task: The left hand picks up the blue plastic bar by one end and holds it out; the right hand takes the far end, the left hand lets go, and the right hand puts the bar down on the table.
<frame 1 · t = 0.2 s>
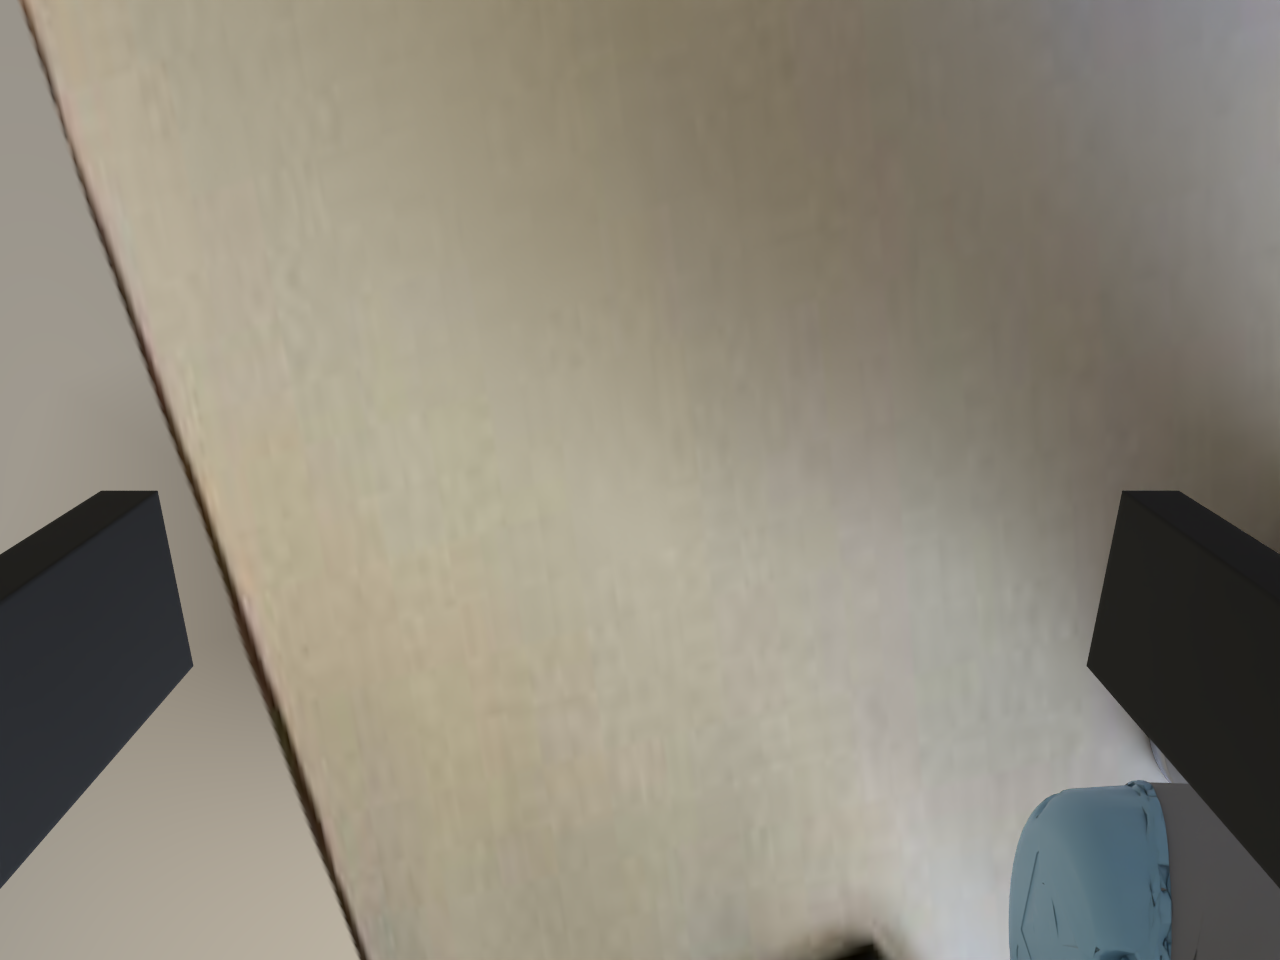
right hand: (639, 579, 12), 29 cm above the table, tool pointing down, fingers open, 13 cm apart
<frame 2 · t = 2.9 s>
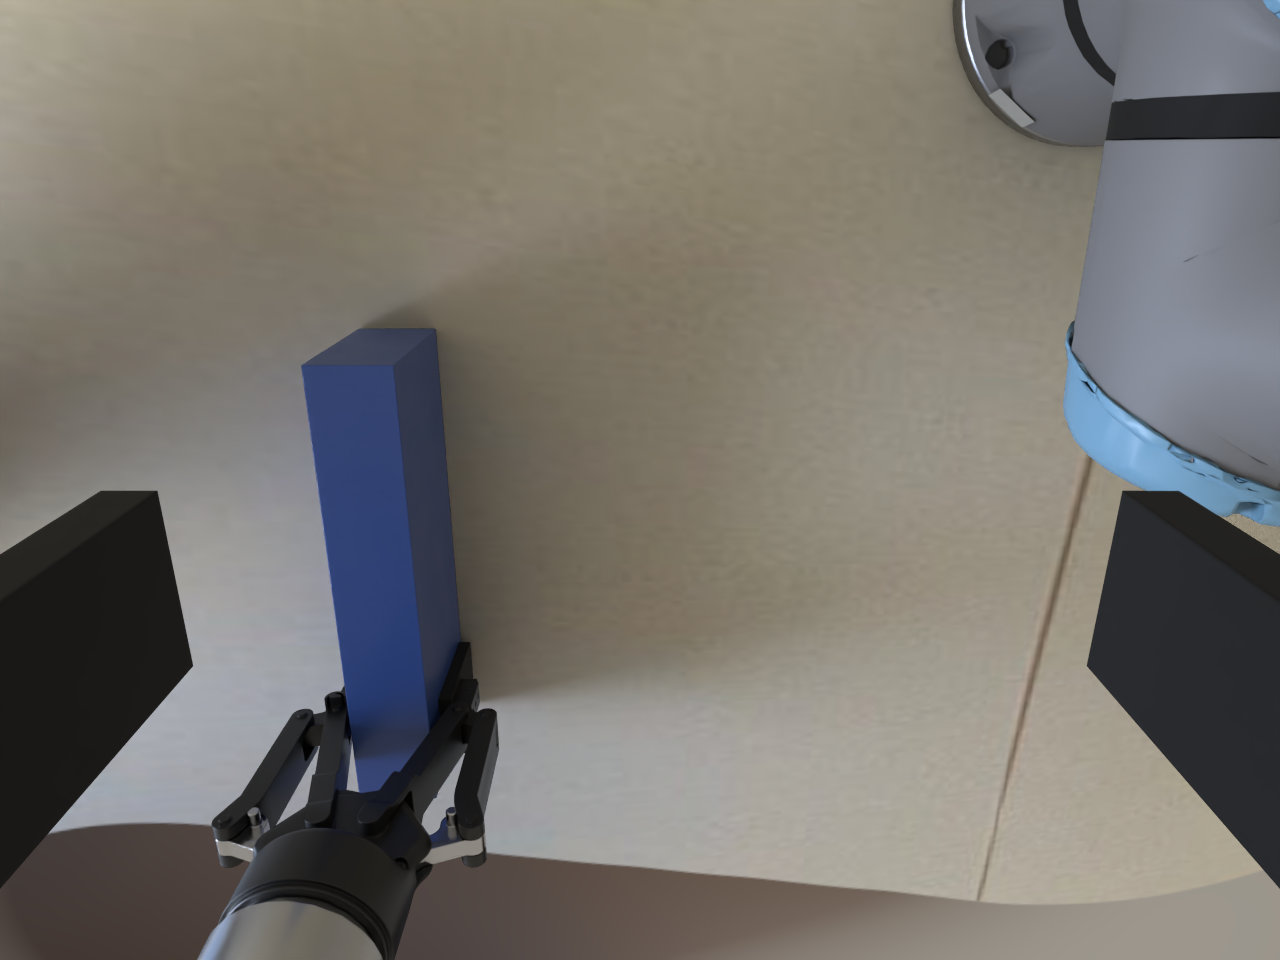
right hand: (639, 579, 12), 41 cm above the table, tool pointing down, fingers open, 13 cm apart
left hand: (426, 660, 59), fingers closed on bar, 4 cm apart
bar: (416, 531, 56), on the table, touching left hand
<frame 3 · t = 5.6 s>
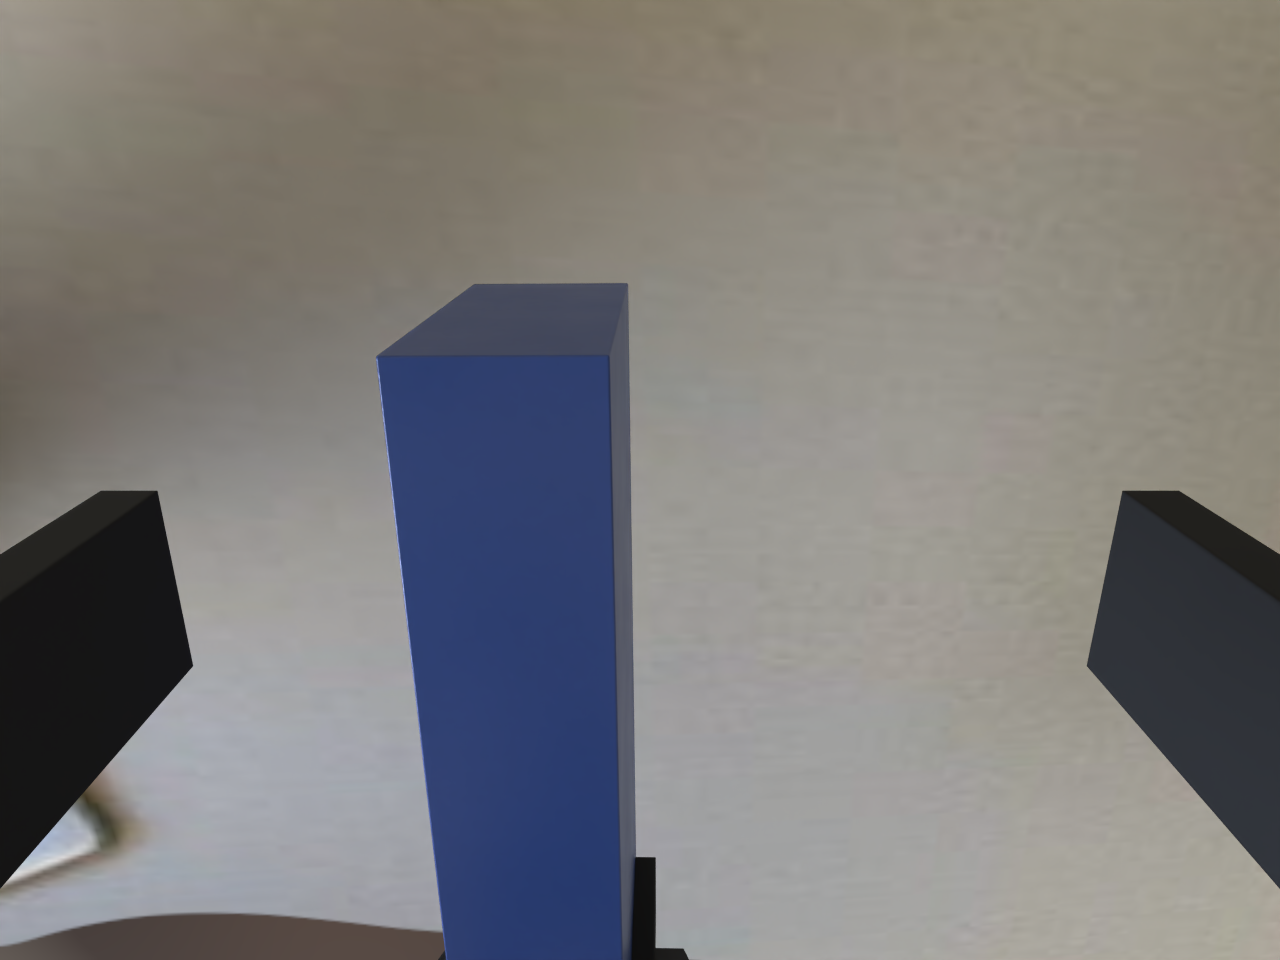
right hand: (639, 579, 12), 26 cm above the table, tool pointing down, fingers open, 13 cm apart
bar: (567, 667, 30), point 11 cm above the table, touching left hand
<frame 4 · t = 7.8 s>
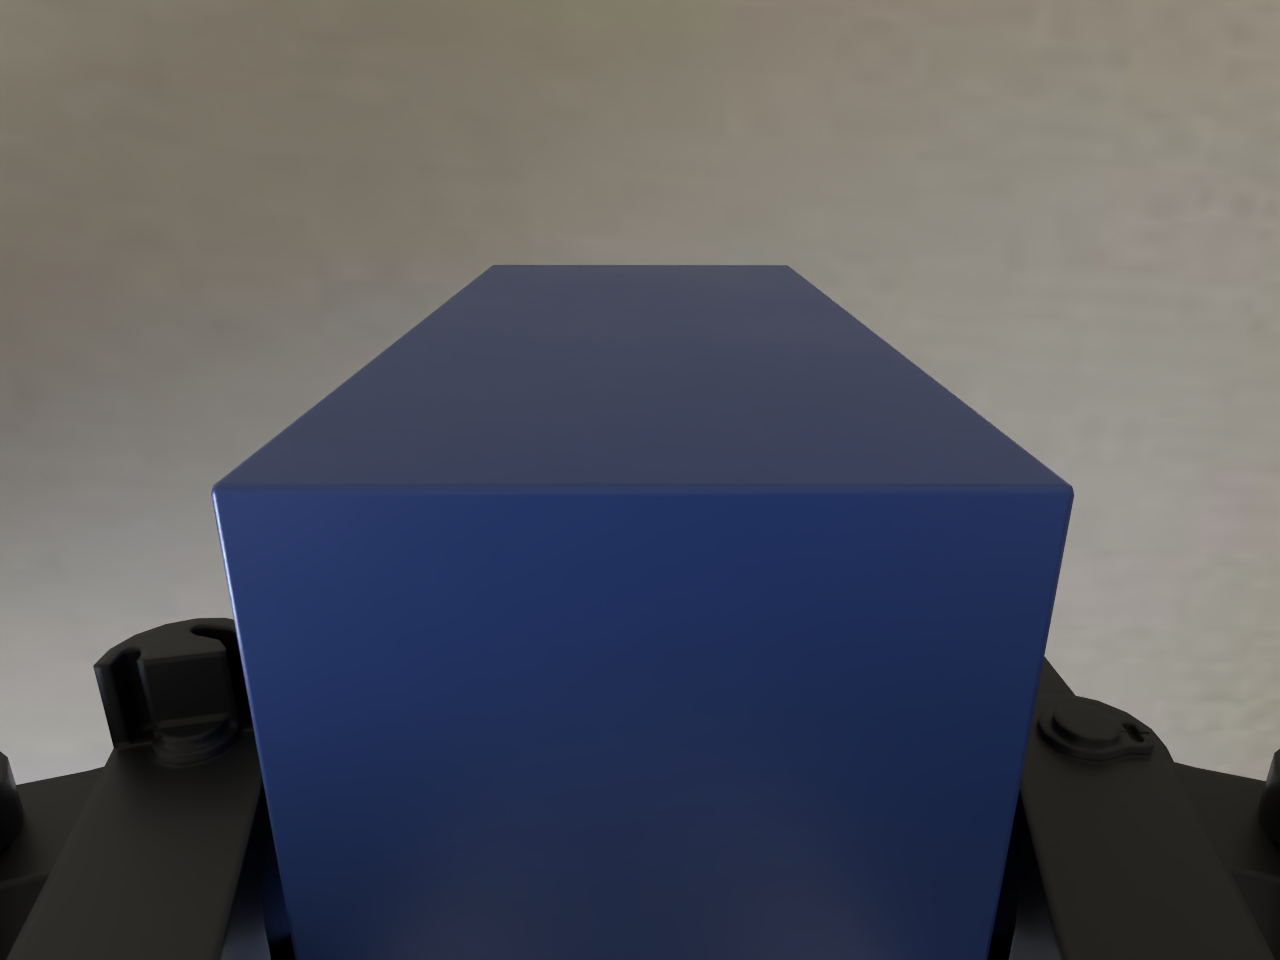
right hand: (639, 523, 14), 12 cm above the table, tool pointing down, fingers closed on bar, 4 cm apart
bar: (639, 919, 18), point 11 cm above the table, touching right hand, left hand
when the left hand's fingers open (12 cm above the table, at t = 8.4 s): bar stays where it is, held by the right hand.
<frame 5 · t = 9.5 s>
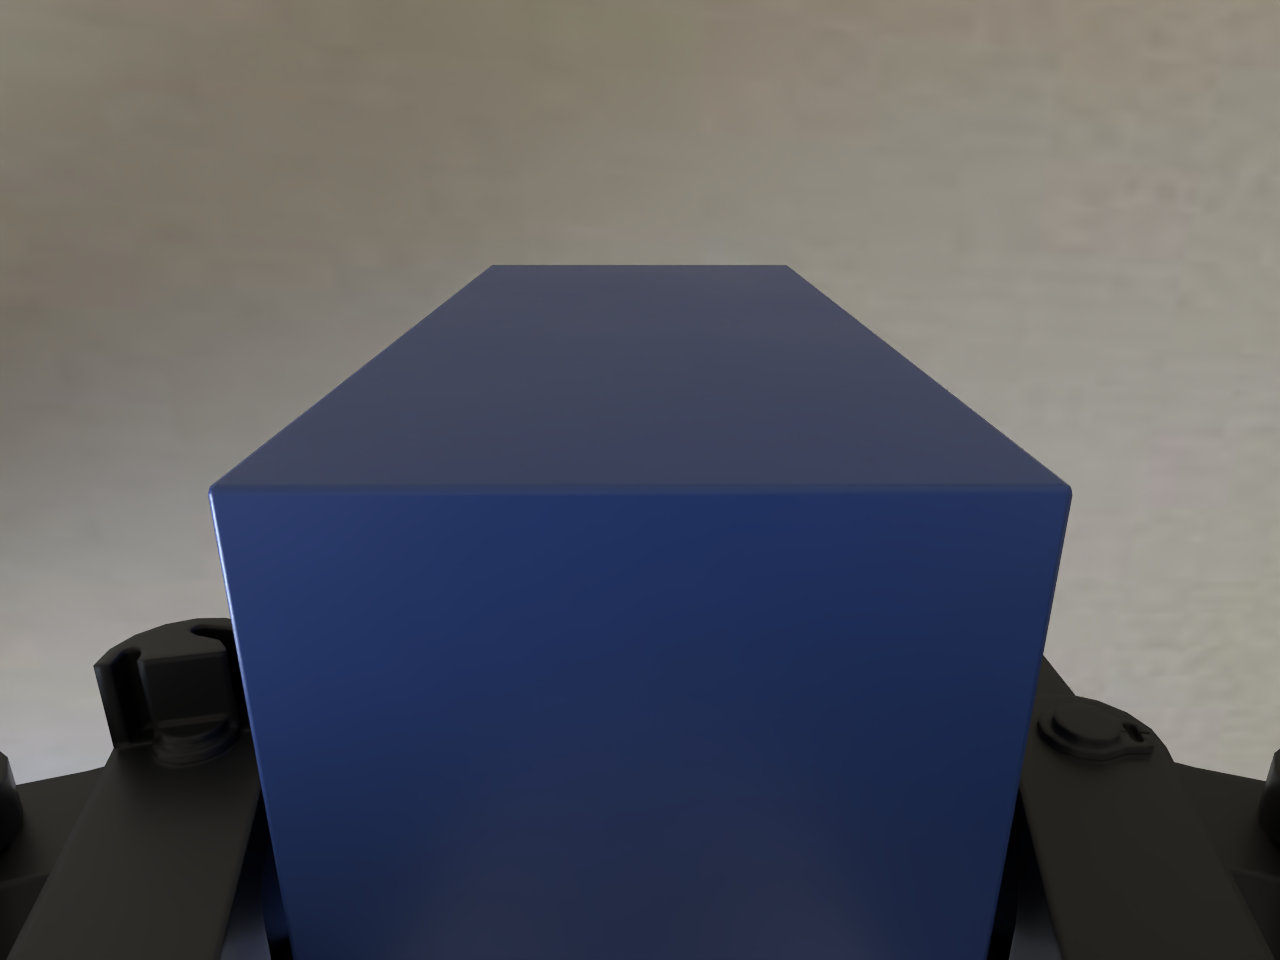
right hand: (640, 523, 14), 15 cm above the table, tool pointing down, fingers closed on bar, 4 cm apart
bar: (639, 919, 18), point 14 cm above the table, touching right hand
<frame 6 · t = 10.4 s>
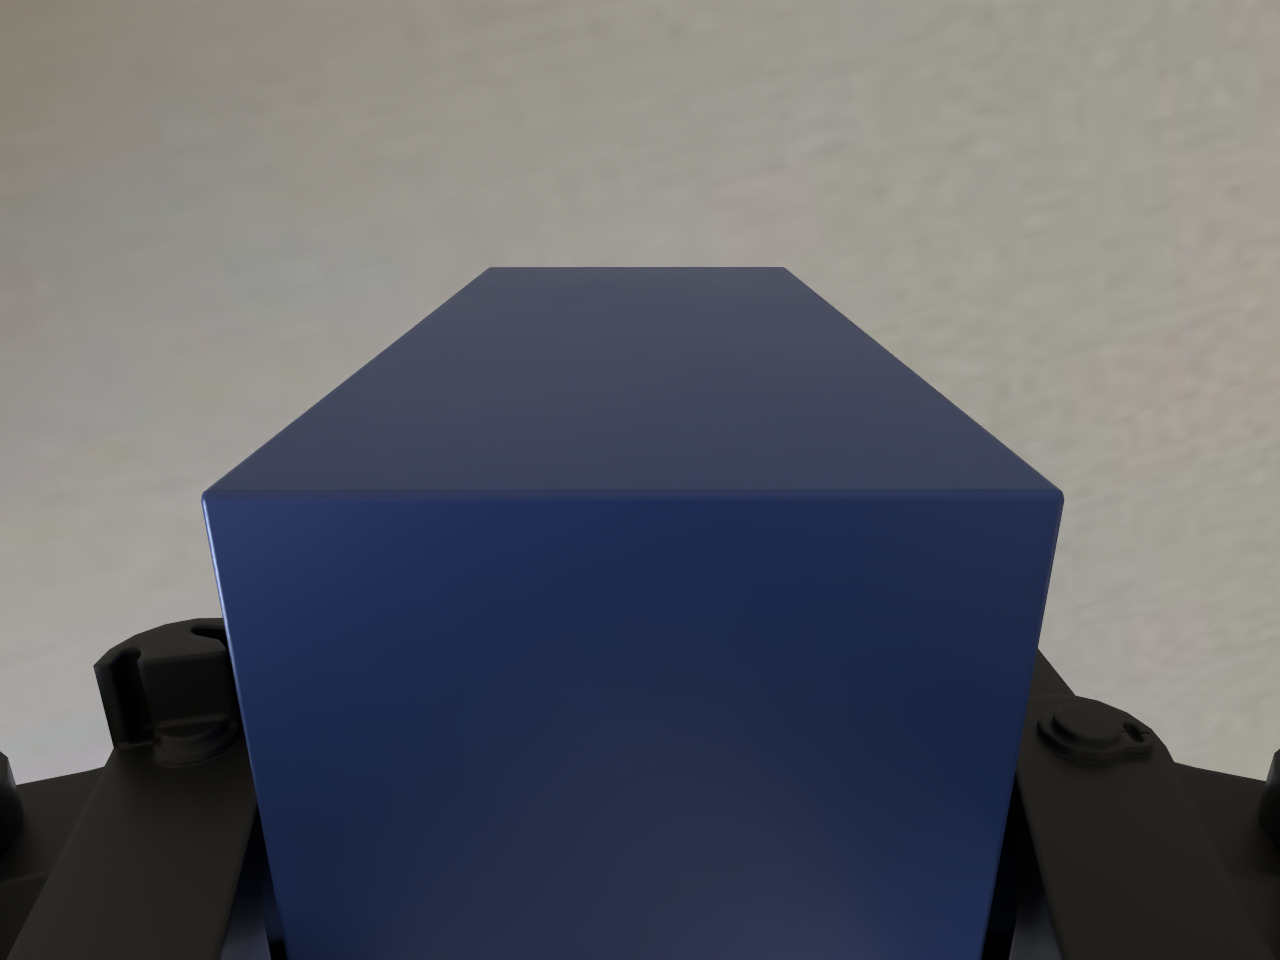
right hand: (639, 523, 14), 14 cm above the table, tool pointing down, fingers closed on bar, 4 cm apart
bar: (637, 920, 18), point 14 cm above the table, touching right hand
when the right hand's fingers open (2 cm above the table, at t = 13.3 s): bar drops 1 cm, on the table.
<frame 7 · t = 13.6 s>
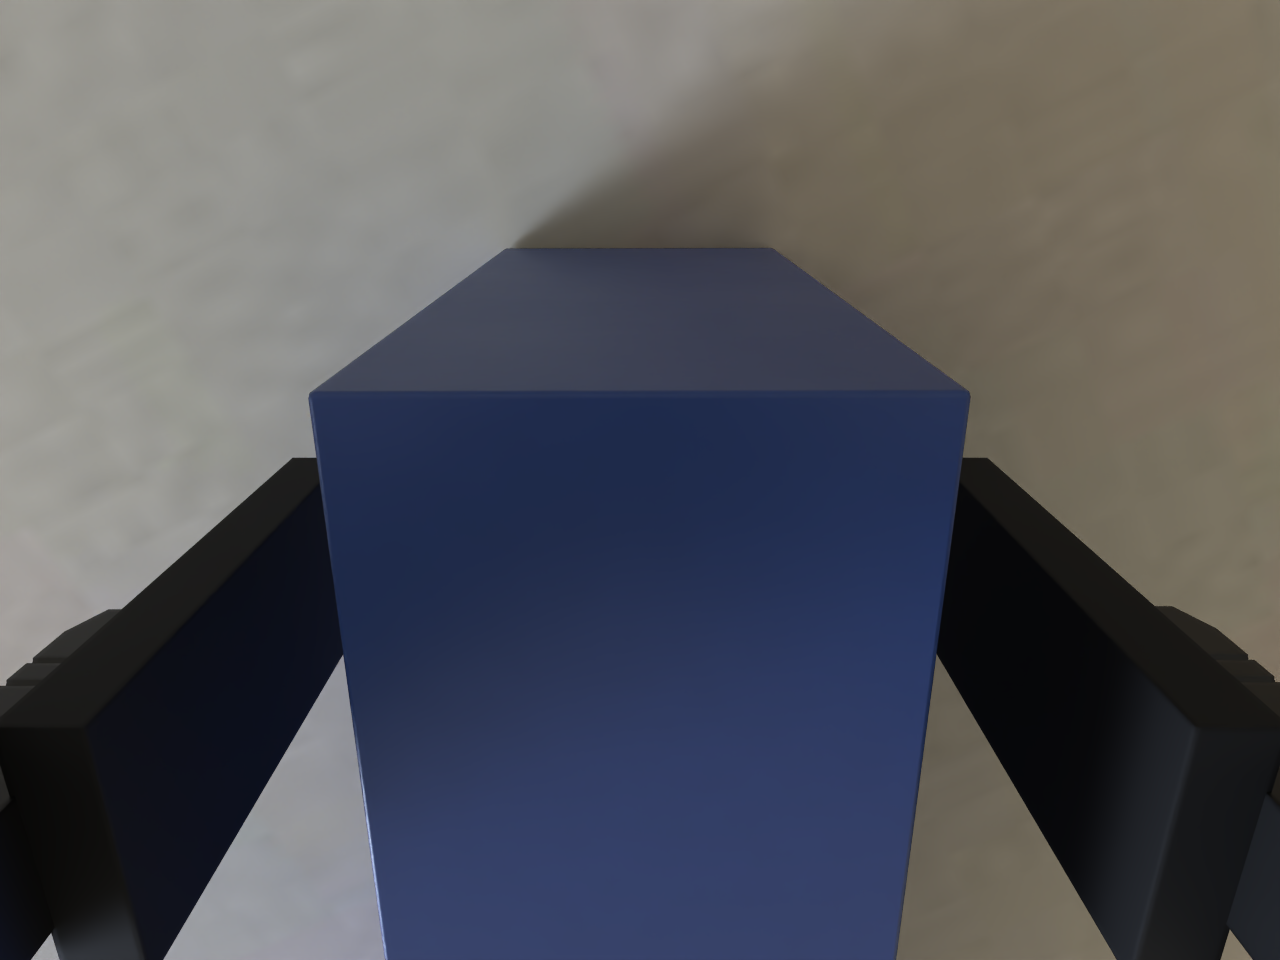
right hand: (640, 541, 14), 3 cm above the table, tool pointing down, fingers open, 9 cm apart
bar: (640, 859, 19), on the table
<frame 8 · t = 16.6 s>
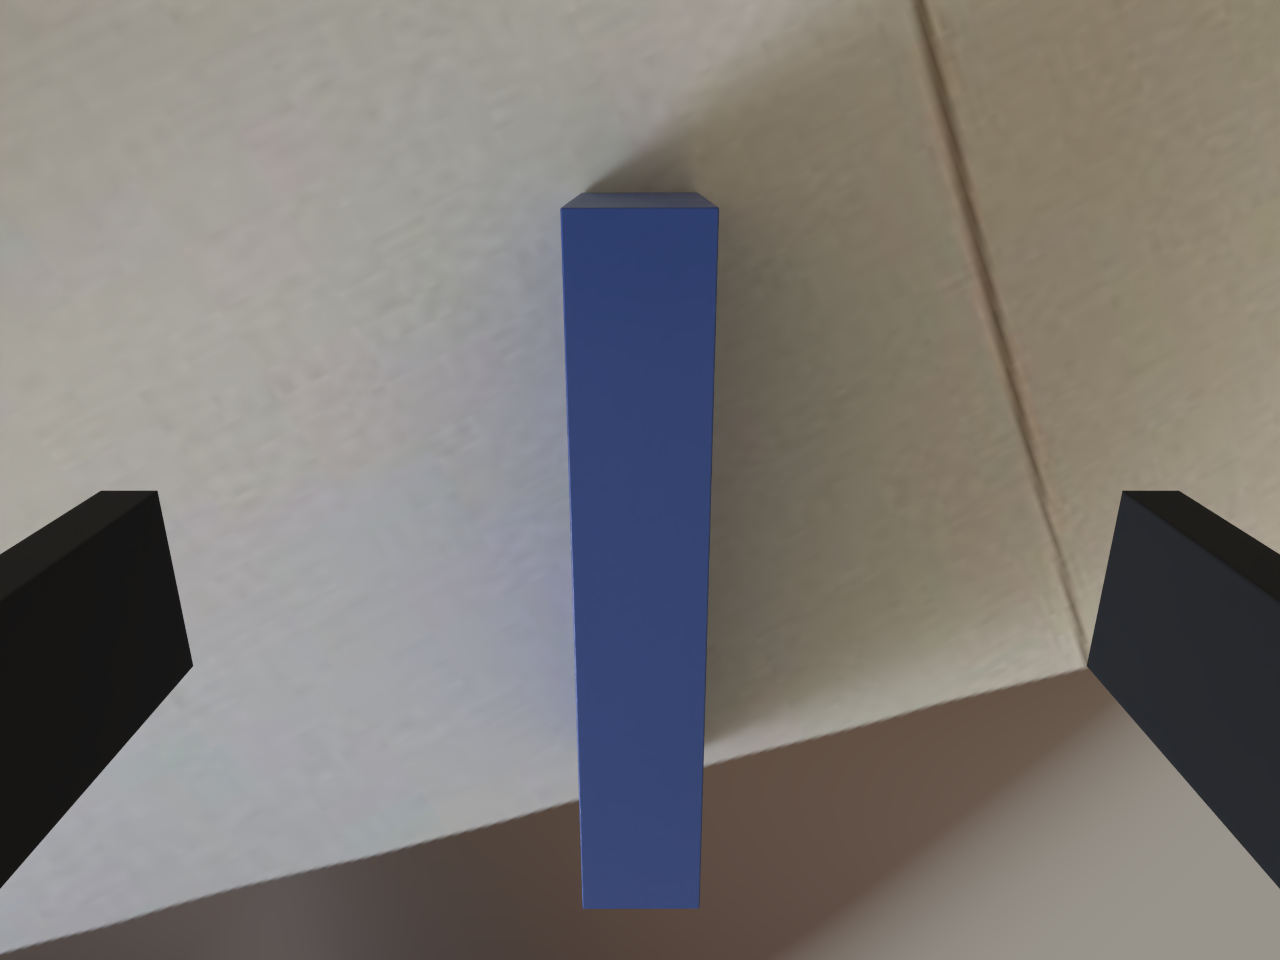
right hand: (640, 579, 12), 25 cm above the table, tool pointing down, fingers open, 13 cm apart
bar: (640, 506, 39), on the table
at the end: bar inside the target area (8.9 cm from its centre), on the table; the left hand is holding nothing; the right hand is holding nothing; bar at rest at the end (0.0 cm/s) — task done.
